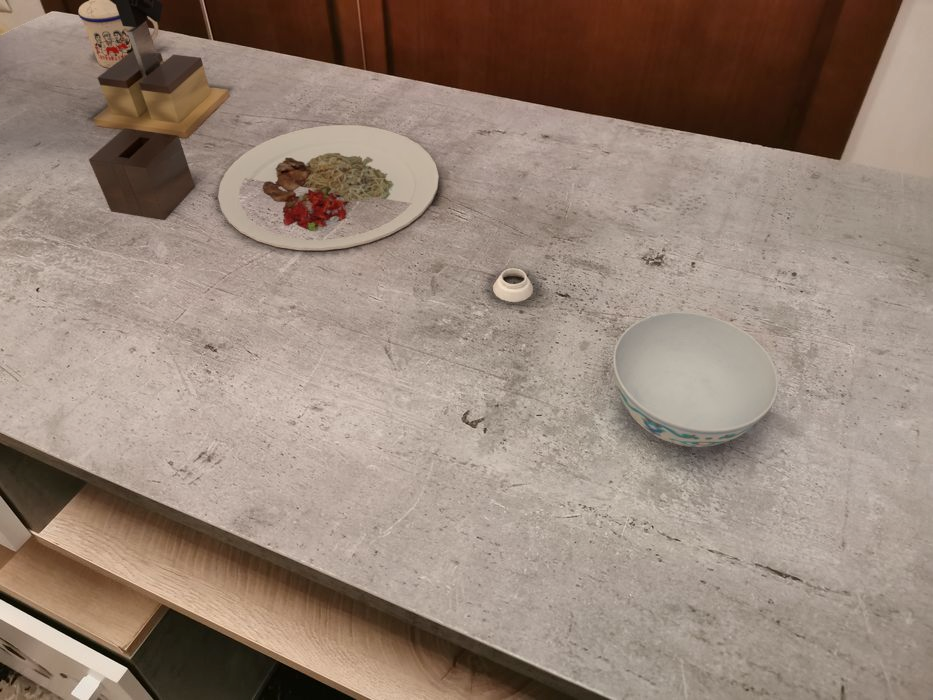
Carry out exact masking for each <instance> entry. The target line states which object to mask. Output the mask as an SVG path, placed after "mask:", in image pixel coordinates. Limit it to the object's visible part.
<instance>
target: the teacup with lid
mask: <svg viewBox="0 0 933 700" xmlns="http://www.w3.org/2000/svg"><path fill="white" fill-rule="evenodd" d="M78 17H79V18H80V19H81V21H82V24H83V26H84V30H85V31H86V34H87V37H88V39H89V42H90V44H91V48H92V50H93V53H94V56H95V58H96V61H97V63H98V64H99V65H100V66H102V67H104V68H106V69H109V68H111V67H112V66H113V65H115V64H116V63H117V62H119V61H120V60H121V59H123V58H124V57H125V56H126V55H128V54H129V53H130V52H132V51H133V47H132V44H131V41H130V39H129V36H128V33H127V31H129V30H130V29H131V28H133V27H127V26H123V25H122V22H121V19H120V16H119V13H118V10H117V7H116V5H115V4H114V3H113V2H111V1H110V0H88V1H85V2H83V3H82V4H81V5H80V6H79V8H78ZM147 17H148V16H147ZM148 20H149V21H150V22H151V23H152V25H153V28H154V29H153V33H152V34H151V37H152V41H155V40H156V39H157V37H158V34H159V24H158V22H155V21H154V20H152V19H151V18H150V17H148ZM148 20H147V21H148Z"/></svg>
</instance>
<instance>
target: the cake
mask: <svg viewBox="0 0 933 700" xmlns="http://www.w3.org/2000/svg"><path fill="white" fill-rule="evenodd" d="M156 53H157V56H158V59H159V62H160V66H159V67H158V68H156V69H155V70H154V71H153V72H151V73H150V74H149V75H148V76H147V77H145V78H144V79H143V77H142V74H141V71H140V68H139V65H138V62H137V59H136V56H135V53H134V50H133V51H132V52H130V53H129V54H128V55H126V56H125V57H124V58H123V59H121V60H120V61H119V62H117V63H116V64H115V65H113V66H112V67H111V68H107V69H106V71H104V72H103V73H101V74H100V75H99V76H98V77H97V80H98V83H99V85H100V88H101V91H102V93H103V96H104V98H105V101H106V104H107V107H105V109H103V110H102V111H100V112H99V113H98V114H97V115H96V116H95V117H93V118H92V121H93V123H94V125H95V126H96V127H102V128H108V129H109V128H111V129H116V130H123V129H124V128H128V129H135V130H142V131H149V132H156V133H163V134H171V135H178V136H179V139H180V138H181V139H188V138H189V137H190V136H191V135H192V134H193V133H194V132H196V130H197V129H198V128H199V127H200V126H201V125H202V124H203V123H205V121H206V120H207V119H208V118H209V117H210V116H211V115H213V113H214V112H215V111H216V110H217V109H218V108H219V107H220V106H221V105H222V104H223V103H224V102H226V100H227V99H228V98H229V97H230V92H229V90H228V89H226V88H221V87H220V88H219V87H210V85H209V81H208V79H207V78H208V77H207V73H206V71H205V67H204V63H203V60H202V57H200V56H199V57H198V56H191V55H181V54H172V55H171V56H170V57H169V58H167V59H166V60H165V61H164V59H163V55H162V53H161V52H156Z"/></svg>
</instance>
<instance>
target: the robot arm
mask: <svg viewBox="0 0 933 700" xmlns="http://www.w3.org/2000/svg"><path fill="white" fill-rule="evenodd" d="M110 1H111V2H113V3H114V4H115V1H114V0H110ZM128 2H129V5H131V6H135V7H136V8H137V9H139V10H140V11H141V12H143V13H144V14H146V15H147V16H148V17H150V18H151V19H152V20H154V21H155V22H157V23H161V17H162V11H163V3H161V2H160V1H159V0H128ZM115 5H116V4H115Z"/></svg>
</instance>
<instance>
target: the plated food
mask: <svg viewBox="0 0 933 700" xmlns="http://www.w3.org/2000/svg"><path fill="white" fill-rule="evenodd" d="M245 179H247V180H251V181H252V180H254V181H260V182H264V184H262V190H263V193H264V194H266V195H267V196H269V197H270V198H271V199H272V200H273V201H274V202H279V203H285V204H284V207H282V214H283V215H282V216H283V220H282V222H283V223H284V226H285V227H286V226H291V225H292V224H295V223H296V225H298V227H300V228H303V229H305V230H310V231H311V232H318V231H319V232H320V231H323V230H324V229H326V227H327V226H330V225H331V224H332V223H333V224H335V223H338V222H341V221H342V220H345V219H346V217H347V216H346V214H347V211H346V208H345V207H346V205H349V206H354V204H353V203H354V202H357V201H358V203H361V202H362V201H367V198H370V199H373V198H375V199H381V200H387V201H388V200H389V201H394V202H395V201H396V202H401V203H409V205H408V207H407V208H406V209H405V210H404V211H403V212H400V214H398V215H397V216H396V217H395V218H394V219H392V220H390V221H388V222H386V223H384V224H382V225H380V226H379V227H376V228H373V229H370V230H368V231H365V232H363V233H358V234H353V235H350V236H345V237H339V238H338V237H336V238H327V239H305V238H297V237H291V236H286V235H282V234H279V233H276V232H272V231H269V230H268V229H265V228H264V227H262V226H260V225H258V224H257V223H256V222H254V221H253V220H252V219H251V218H249V216H248V215H247V214H246V212H245V211H244V210H243V208H242V204H241V201H240V200H241V199H240V192H241V187H242V185H243V183H244V180H245ZM280 187H281V188H282V189H284V190H282V189H281V188H280ZM300 187H301V188H307V189H308V190H307V192H305V193H303V194H299V195H297V194H296V192H295V191H296V190H297V189H299V188H300ZM438 187H439V171H438V168H437V164H436V162H435V161H434V159H433V158H432V156H431V155H430V153H429V152H428V151H427V150H425V149H424V148H423V146H421V144H419V143H417V142H415V141H414V140H412V139H410V138H408V137H407V136H404V135H401V134H400V133H396V132H393V131H391V130H387V129H382V128H378V127H373V126H365V125H357V124H333V125H321V126H314V127H313V126H312V127H308V128H303V129H298V130H294V131H290V132H287V133H284V134H281V135H278V136H275V137H272V138H270V139H268V140H266V141H263V142H261V143H259V144H257V145H256V146H254V147H252V148H251V149H249V150H247V151H246V152H245V153H243V154H242V155H241V156H240V157H238V158H237V159H236V160H235V161H234V162H233V163H232V164H231V165H230V167H228V169H227V170H226V171H225V173H224V174H223V176H222V179H221V181H220V183H219V187H218V193H217V194H218V195H217V199H218V202H219V207H220V211H221V212H222V213H221V214H223V215H224V217H225V219H226V220H227V222H228V223H229V224H230V225H231V226H233V228H235V229H236V230H237V231H238V232H240V234H243V235H245V236H247V237H249V238H250V239H252V240H254V241H257V242H259V243H262V244H265V245H269V246H273V247H276V248H283V249H287V250H288V249H289V250H296V251H330V250H340V249H348V248H352V247H357V246H361V245H366V244H370V243H371V242H375V241H378V240H380V239H383V238H386V237H388V236H391V235H393V234H395V233H397V232H398V231H400V230H402V229H403V228H405V227H408V226H409V225H410V224H411V223H412V222H414V221H415V220H417V218H419V217H420V216H422V215H423V213H424V212H425V211H426V210H427V209H428V208H429V206H430V205H431V204H432V203H433V200H434V198H435V196H436V194H437V192H438ZM311 189H312V190H311ZM354 199H355V200H354ZM332 217H333V220H330V219H331V218H332Z"/></svg>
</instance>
